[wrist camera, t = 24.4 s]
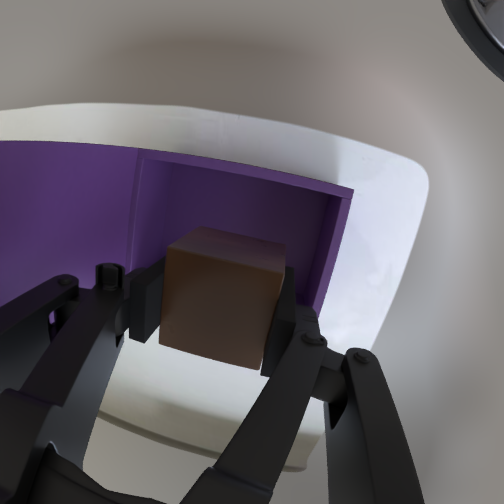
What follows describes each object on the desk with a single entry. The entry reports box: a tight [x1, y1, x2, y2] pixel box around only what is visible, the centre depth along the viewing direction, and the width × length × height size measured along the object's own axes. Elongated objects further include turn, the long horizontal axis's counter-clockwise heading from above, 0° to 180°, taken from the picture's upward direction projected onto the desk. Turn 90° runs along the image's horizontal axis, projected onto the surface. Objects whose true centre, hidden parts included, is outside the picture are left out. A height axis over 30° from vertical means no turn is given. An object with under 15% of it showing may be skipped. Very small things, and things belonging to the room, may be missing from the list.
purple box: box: [125, 148, 354, 317], centre depth 27 cm, size 18×13×8 cm
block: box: [159, 226, 286, 370], centre depth 15 cm, size 5×5×5 cm
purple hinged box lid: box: [0, 141, 139, 323], centre depth 15 cm, size 19×13×8 cm
